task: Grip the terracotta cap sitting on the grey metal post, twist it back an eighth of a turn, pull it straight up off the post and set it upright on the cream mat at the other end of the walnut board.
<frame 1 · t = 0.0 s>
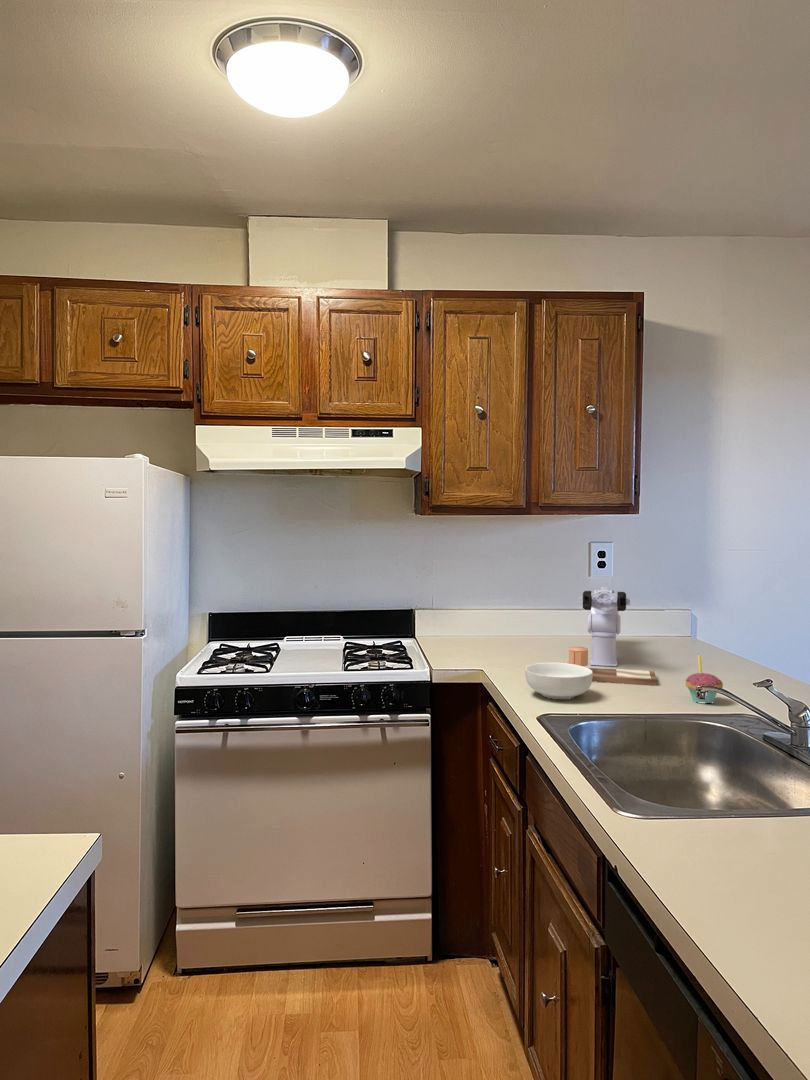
hand: (604, 601, 204), 22 cm above the worktop, tool horizontal, fingers open, 7 cm apart
cereal bowl: (558, 696, 184), on the worktop
cupcake: (703, 702, 178), on the worktop
cap: (578, 664, 205), point 3 cm above the worktop, touching board
board: (603, 677, 203), on the worktop
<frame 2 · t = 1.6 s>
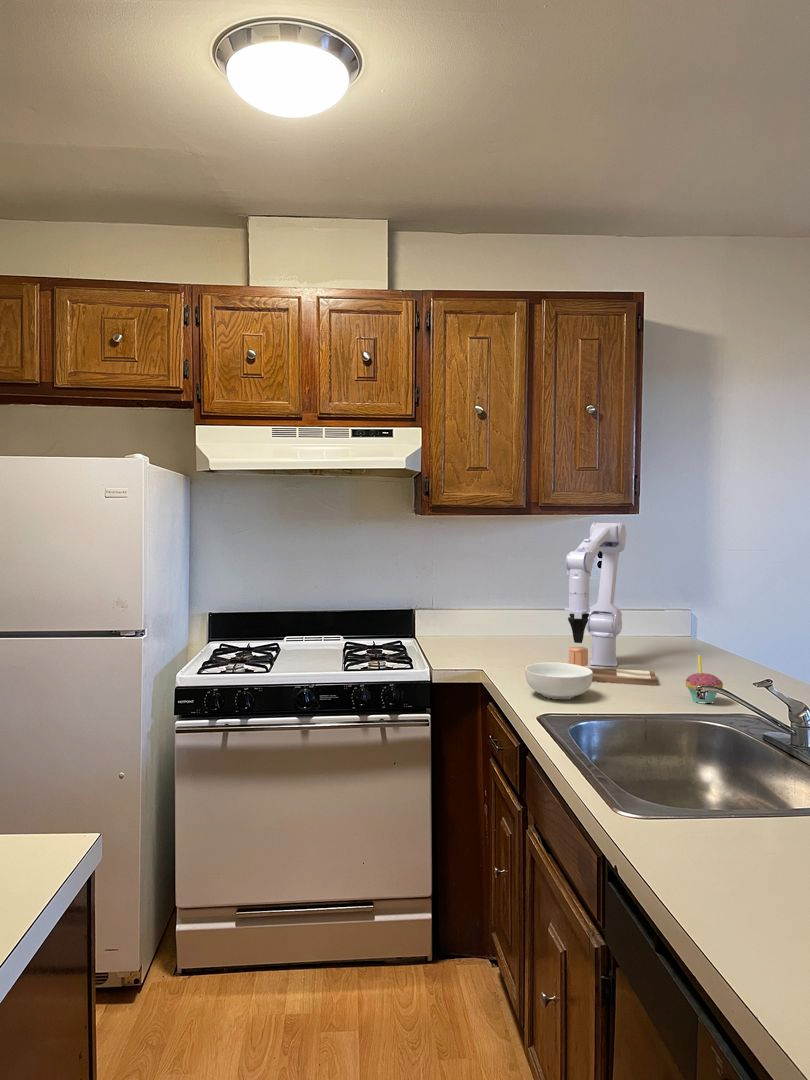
hand: (578, 640, 205), 10 cm above the worktop, tool pointing down, fingers open, 7 cm apart
nothing on the worktop moved.
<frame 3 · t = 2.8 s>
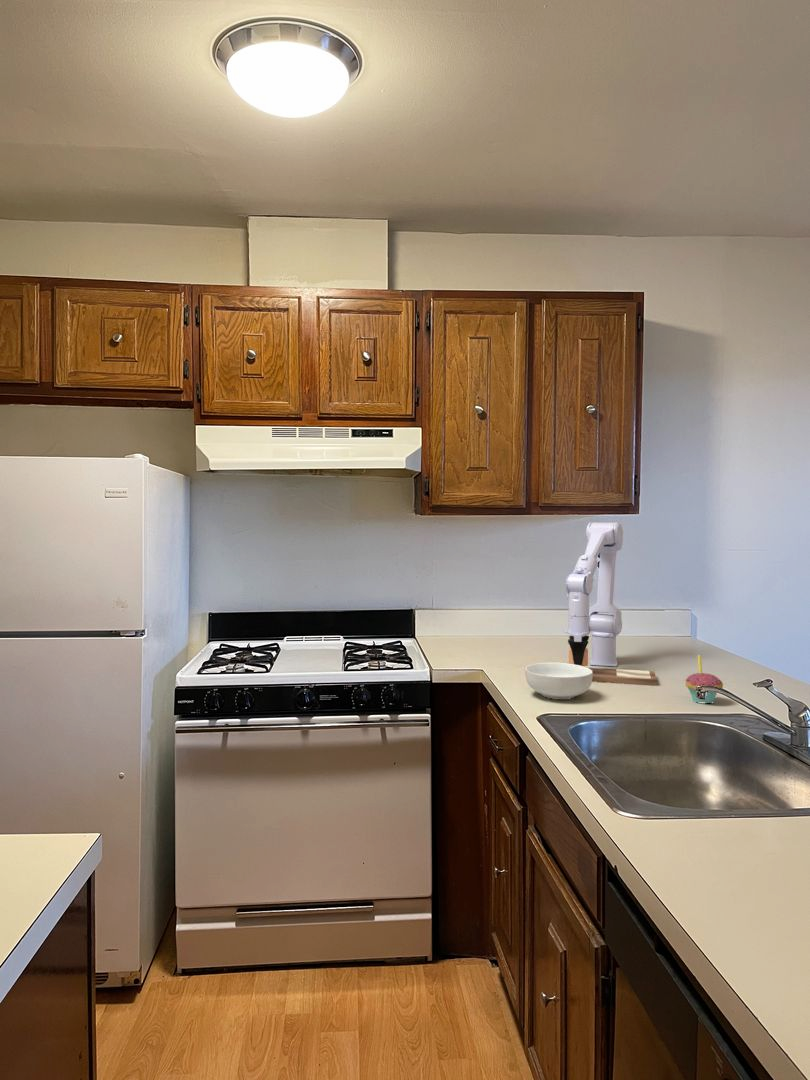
hand: (578, 662, 205), 4 cm above the worktop, tool pointing down, fingers closed on cap, 5 cm apart
cap: (578, 664, 205), point 3 cm above the worktop, touching board, gripper
everything else where it was.
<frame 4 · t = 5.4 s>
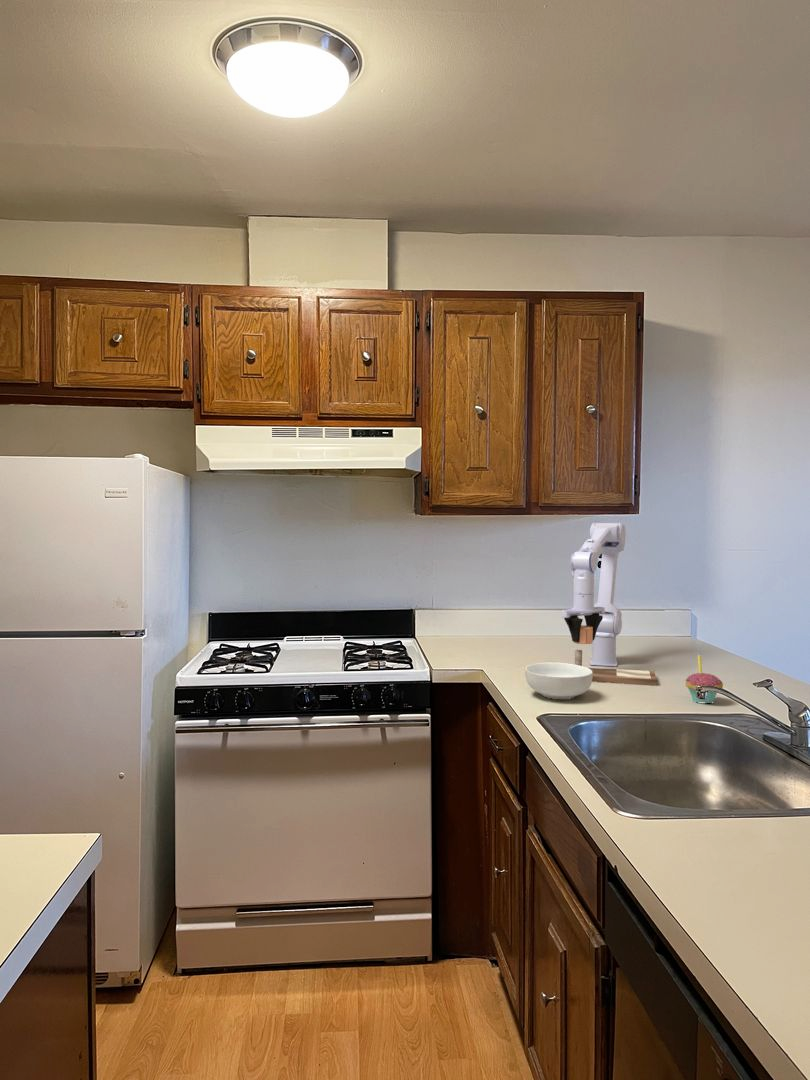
hand: (583, 640, 205), 10 cm above the worktop, tool pointing down, fingers closed on cap, 5 cm apart
cap: (583, 642, 205), point 10 cm above the worktop, touching gripper
everything else where it was.
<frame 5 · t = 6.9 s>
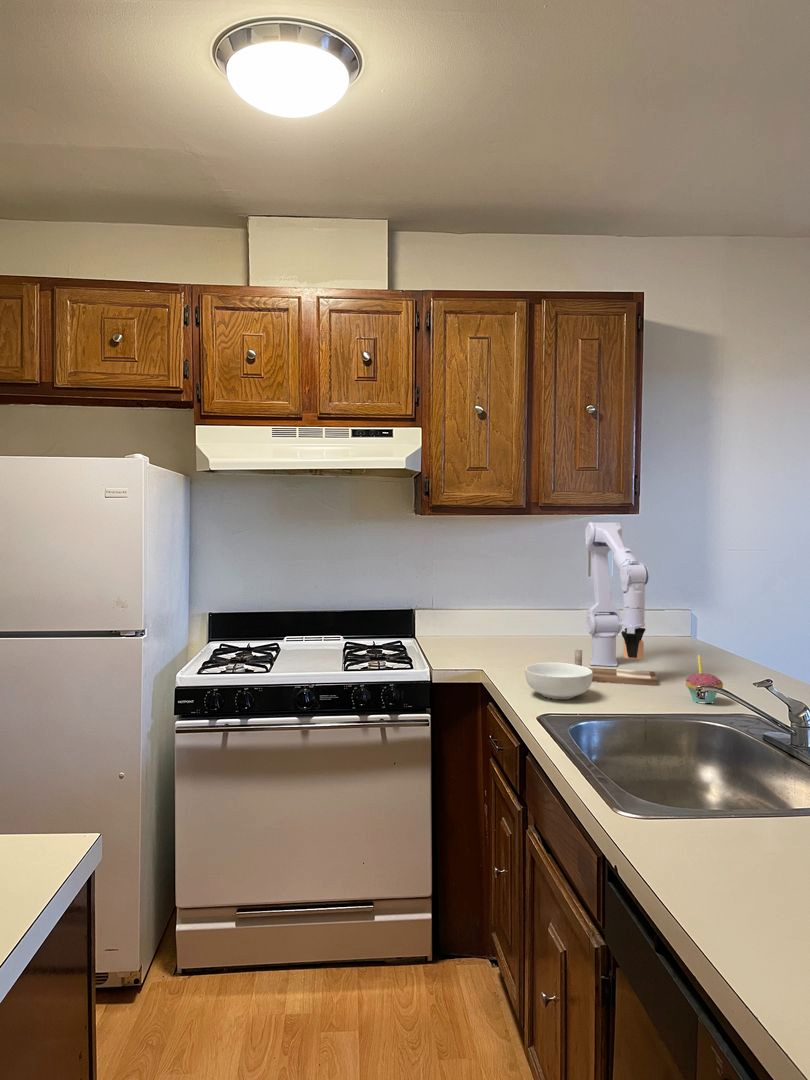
hand: (633, 655, 201), 7 cm above the worktop, tool pointing down, fingers closed on cap, 5 cm apart
cap: (633, 657, 201), point 6 cm above the worktop, touching gripper
everything else where it was.
when the fingers open (4 cm above the worktop, at t = 8.0 s): cap drops 1 cm, resting on board.
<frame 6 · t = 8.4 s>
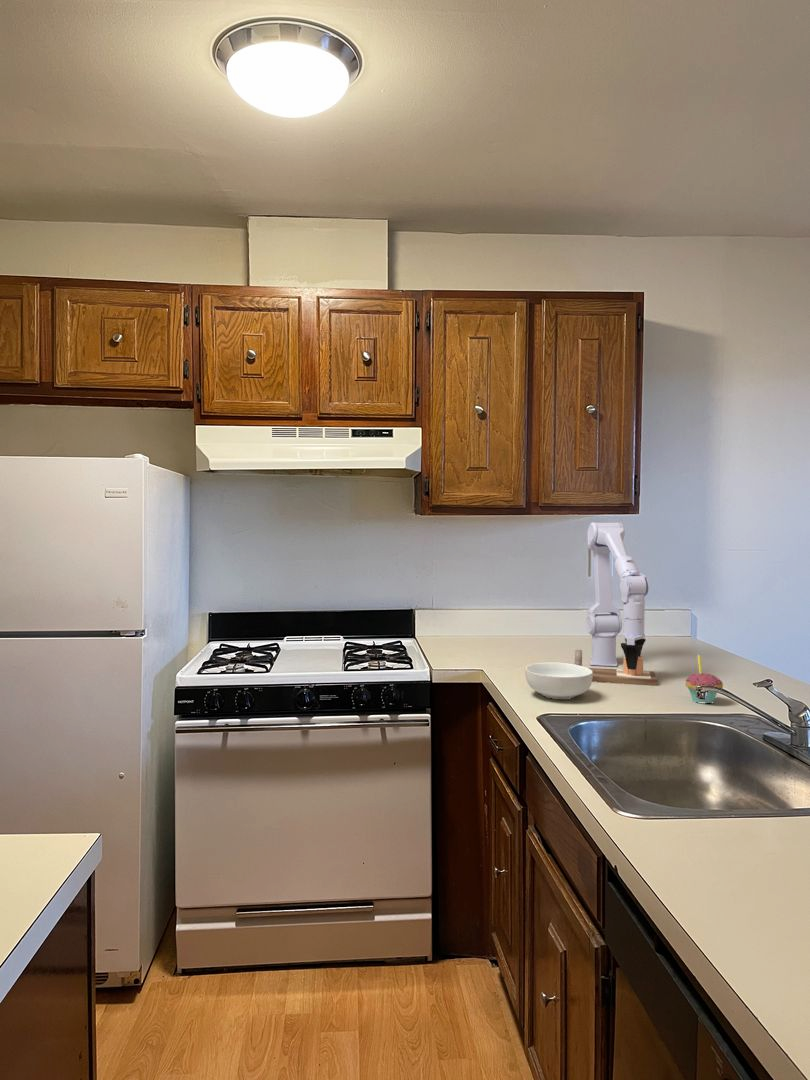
hand: (633, 666, 201), 4 cm above the worktop, tool pointing down, fingers open, 7 cm apart
cap: (633, 673, 201), point 2 cm above the worktop, touching board
everything else where it was.
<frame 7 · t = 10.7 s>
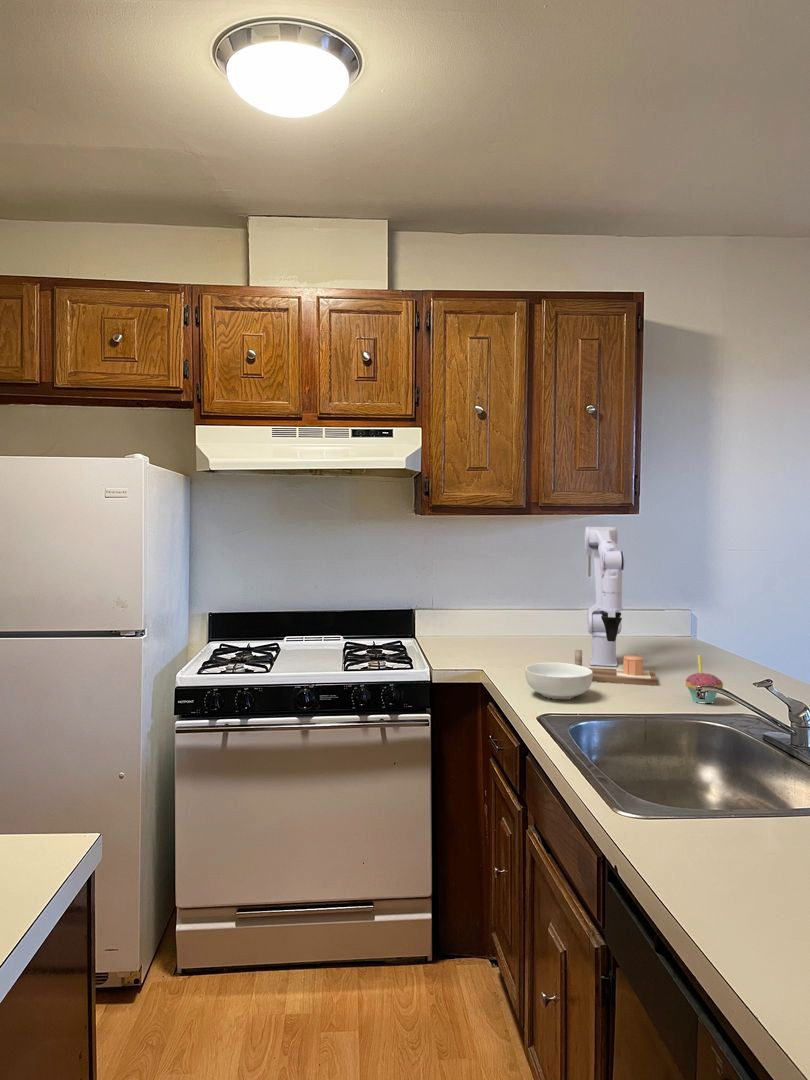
hand: (611, 639, 207), 10 cm above the worktop, tool pointing down, fingers open, 7 cm apart
nothing on the worktop moved.
at the end: cap 0.0 cm from the target spot on the board, point 1.8 cm above the board's base; cap tilted 0°; the gripper is holding nothing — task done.
